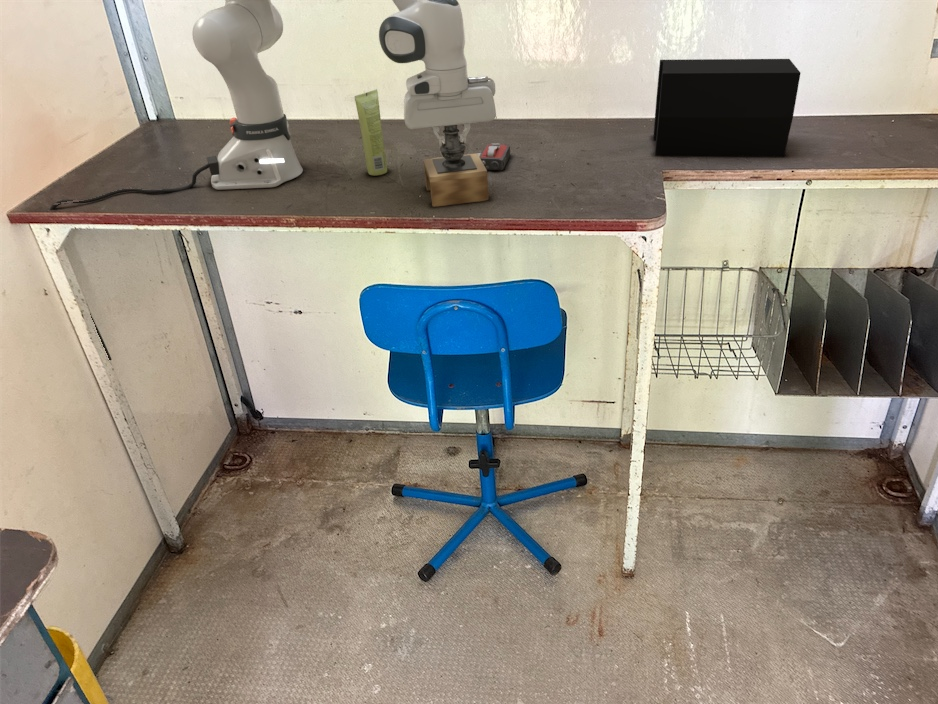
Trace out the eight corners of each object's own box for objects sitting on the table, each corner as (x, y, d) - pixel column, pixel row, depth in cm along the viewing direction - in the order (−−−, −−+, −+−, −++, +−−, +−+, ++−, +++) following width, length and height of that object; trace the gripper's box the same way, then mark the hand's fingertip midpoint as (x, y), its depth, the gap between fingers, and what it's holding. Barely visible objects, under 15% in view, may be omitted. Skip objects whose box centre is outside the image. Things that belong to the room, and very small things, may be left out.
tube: (368, 169, 182) (356, 89, 171) (388, 167, 183) (377, 88, 171) (367, 177, 178) (354, 96, 166) (387, 175, 178) (376, 94, 166)
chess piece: (463, 168, 160) (458, 114, 153) (438, 167, 161) (432, 113, 154) (469, 159, 165) (465, 106, 157) (445, 158, 166) (440, 105, 158)
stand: (432, 207, 161) (429, 175, 157) (426, 187, 171) (422, 157, 166) (488, 200, 163) (486, 169, 159) (479, 181, 173) (477, 151, 168)
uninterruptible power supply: (653, 136, 195) (659, 58, 183) (779, 137, 191) (795, 57, 179) (655, 157, 182) (662, 74, 170) (791, 158, 178) (808, 74, 166)
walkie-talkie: (479, 153, 189) (462, 181, 173) (478, 136, 186) (461, 163, 171) (512, 153, 188) (498, 182, 172) (511, 137, 185) (497, 164, 169)
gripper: (491, 71, 156) (494, 135, 164) (398, 80, 153) (406, 144, 161) (497, 78, 151) (500, 143, 159) (401, 87, 148) (409, 153, 156)
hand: (452, 144), depth 160 cm, fingers closed on chess piece, 3 cm apart
